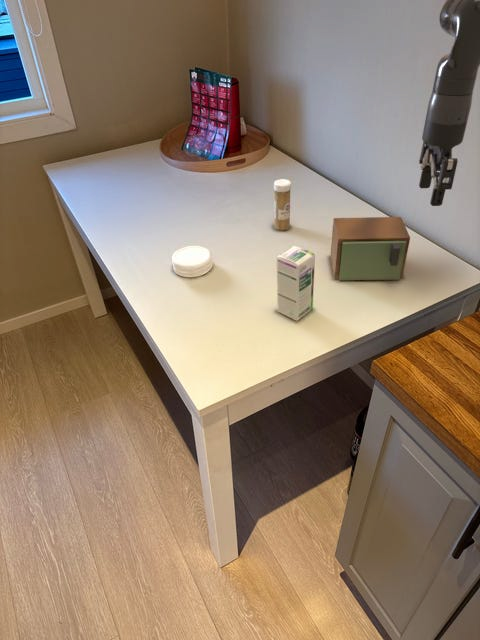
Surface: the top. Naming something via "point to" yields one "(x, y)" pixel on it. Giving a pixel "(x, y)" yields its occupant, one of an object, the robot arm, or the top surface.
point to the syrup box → (295, 282)
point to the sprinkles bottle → (282, 204)
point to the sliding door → (372, 260)
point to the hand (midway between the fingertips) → (429, 196)
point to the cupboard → (366, 235)
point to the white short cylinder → (192, 261)
